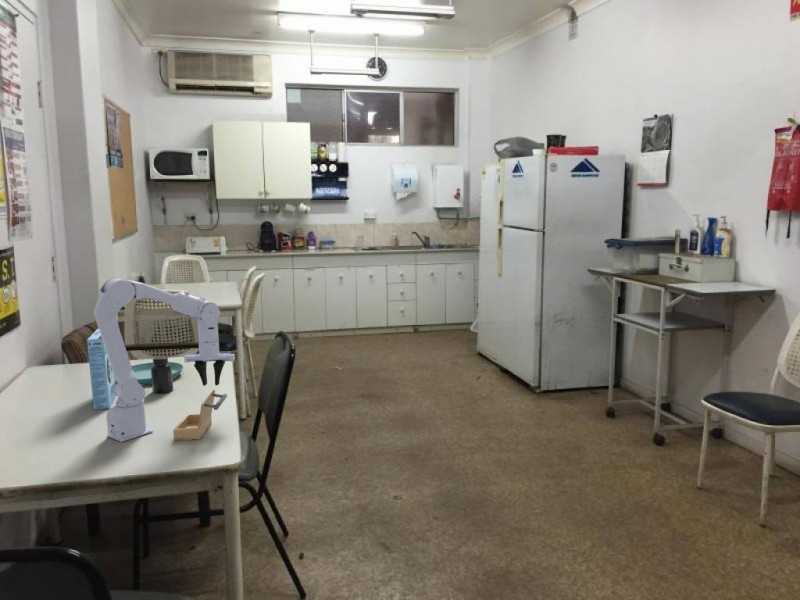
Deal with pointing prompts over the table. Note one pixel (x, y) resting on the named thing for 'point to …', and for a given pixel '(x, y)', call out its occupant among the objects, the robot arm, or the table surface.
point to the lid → (209, 406)
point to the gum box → (100, 372)
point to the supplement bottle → (161, 375)
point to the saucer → (144, 371)
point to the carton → (190, 428)
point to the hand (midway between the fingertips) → (211, 384)
